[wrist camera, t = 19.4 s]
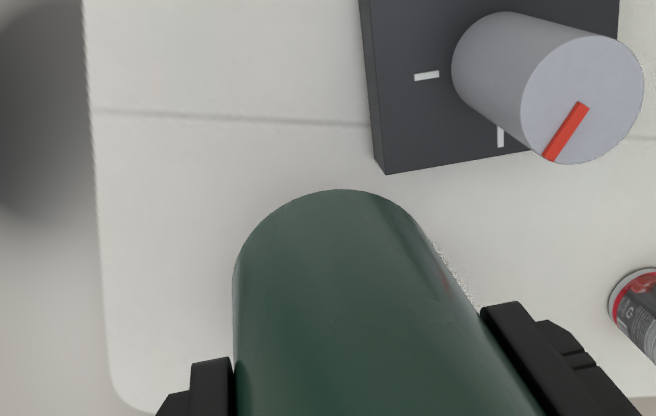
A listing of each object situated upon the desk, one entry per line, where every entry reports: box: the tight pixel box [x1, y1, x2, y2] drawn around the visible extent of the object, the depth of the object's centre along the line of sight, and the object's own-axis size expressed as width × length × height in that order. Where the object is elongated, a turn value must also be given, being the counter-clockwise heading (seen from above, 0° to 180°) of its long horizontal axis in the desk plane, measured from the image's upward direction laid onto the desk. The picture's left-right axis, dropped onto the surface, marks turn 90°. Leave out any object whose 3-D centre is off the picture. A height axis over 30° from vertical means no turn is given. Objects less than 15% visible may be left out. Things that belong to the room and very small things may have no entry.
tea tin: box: [232, 189, 546, 416], centre depth 12 cm, size 5×5×8 cm
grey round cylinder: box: [451, 12, 644, 164], centre depth 31 cm, size 6×6×9 cm
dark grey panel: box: [359, 0, 620, 175], centre depth 36 cm, size 14×11×3 cm
